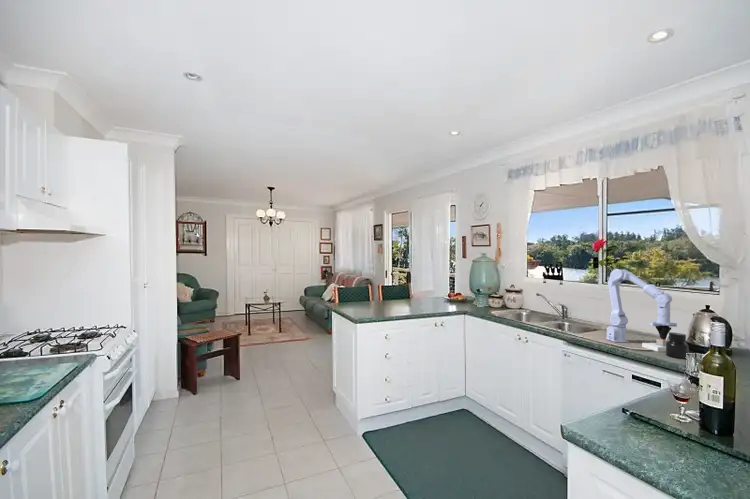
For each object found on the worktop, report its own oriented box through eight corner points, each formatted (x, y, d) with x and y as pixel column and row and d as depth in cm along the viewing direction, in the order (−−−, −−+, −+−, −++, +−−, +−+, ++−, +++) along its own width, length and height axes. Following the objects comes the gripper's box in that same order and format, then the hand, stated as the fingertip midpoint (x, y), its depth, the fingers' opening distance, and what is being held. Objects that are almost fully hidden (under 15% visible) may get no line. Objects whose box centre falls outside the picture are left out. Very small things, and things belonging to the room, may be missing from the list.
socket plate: (657, 351, 190) (657, 346, 190) (642, 347, 200) (642, 341, 200) (684, 352, 191) (684, 346, 191) (667, 347, 201) (668, 342, 201)
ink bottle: (692, 358, 178) (692, 335, 178) (685, 360, 173) (685, 336, 174) (669, 353, 186) (669, 331, 187) (661, 355, 182) (661, 332, 182)
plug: (662, 349, 193) (662, 340, 194) (656, 347, 197) (656, 338, 198) (669, 349, 194) (669, 340, 194) (662, 347, 198) (663, 339, 198)
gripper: (657, 315, 191) (657, 340, 191) (682, 316, 193) (681, 341, 192) (646, 313, 198) (646, 337, 198) (670, 314, 200) (670, 338, 199)
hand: (663, 339), depth 196 cm, fingers closed
